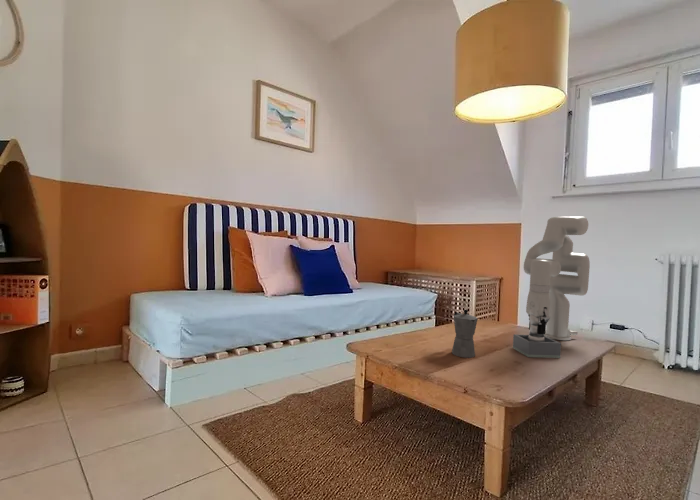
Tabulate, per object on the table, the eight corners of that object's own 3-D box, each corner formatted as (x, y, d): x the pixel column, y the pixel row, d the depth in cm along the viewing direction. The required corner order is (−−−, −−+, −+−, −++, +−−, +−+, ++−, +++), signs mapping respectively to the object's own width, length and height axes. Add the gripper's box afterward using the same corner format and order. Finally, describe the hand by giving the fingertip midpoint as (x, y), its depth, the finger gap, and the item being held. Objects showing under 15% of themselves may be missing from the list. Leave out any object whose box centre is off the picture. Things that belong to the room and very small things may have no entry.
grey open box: (542, 349, 163) (543, 335, 163) (560, 358, 150) (561, 343, 150) (512, 348, 162) (513, 334, 162) (528, 357, 150) (528, 342, 149)
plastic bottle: (542, 346, 159) (545, 299, 158) (546, 350, 152) (548, 301, 152) (526, 344, 161) (529, 297, 160) (528, 348, 154) (531, 300, 154)
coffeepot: (483, 359, 144) (485, 312, 143) (460, 359, 142) (463, 312, 141) (462, 347, 159) (465, 305, 158) (442, 348, 157) (444, 305, 156)
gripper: (520, 286, 164) (517, 327, 164) (542, 291, 147) (539, 337, 147) (536, 286, 164) (534, 327, 165) (560, 292, 147) (558, 337, 148)
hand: (536, 331), depth 156 cm, fingers closed on plastic bottle, 5 cm apart
